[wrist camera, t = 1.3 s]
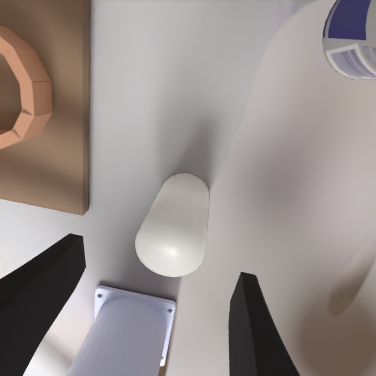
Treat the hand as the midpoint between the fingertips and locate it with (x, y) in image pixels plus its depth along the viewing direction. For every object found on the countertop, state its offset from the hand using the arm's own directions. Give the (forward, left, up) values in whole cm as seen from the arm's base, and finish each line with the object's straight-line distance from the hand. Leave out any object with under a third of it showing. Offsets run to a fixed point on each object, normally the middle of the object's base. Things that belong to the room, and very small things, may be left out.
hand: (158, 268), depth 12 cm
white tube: (-1, 0, -10) cm, 10 cm away
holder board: (+5, +14, -10) cm, 18 cm away
